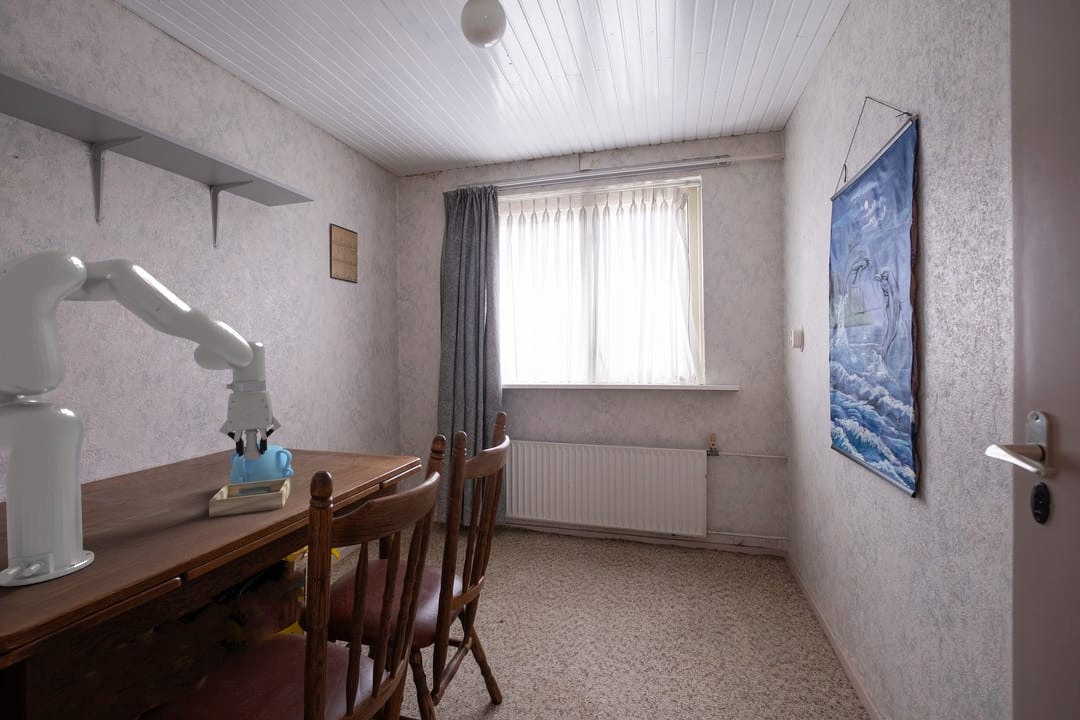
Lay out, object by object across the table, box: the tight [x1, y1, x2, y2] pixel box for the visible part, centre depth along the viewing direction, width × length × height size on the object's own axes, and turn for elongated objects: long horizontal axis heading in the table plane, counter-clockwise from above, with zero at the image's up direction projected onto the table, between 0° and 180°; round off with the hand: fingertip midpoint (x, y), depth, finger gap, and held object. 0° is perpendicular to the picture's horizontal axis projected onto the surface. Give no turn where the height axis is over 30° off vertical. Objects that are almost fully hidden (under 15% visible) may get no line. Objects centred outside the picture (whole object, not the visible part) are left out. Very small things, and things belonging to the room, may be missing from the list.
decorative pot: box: [229, 441, 294, 484], centre depth 142 cm, size 16×16×14 cm
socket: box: [233, 485, 272, 497], centre depth 125 cm, size 8×8×3 cm
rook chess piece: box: [242, 429, 262, 460], centre depth 124 cm, size 4×4×8 cm
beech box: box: [208, 477, 291, 518], centre depth 125 cm, size 16×16×4 cm
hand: (252, 454), depth 125 cm, fingers closed on rook chess piece, 4 cm apart
